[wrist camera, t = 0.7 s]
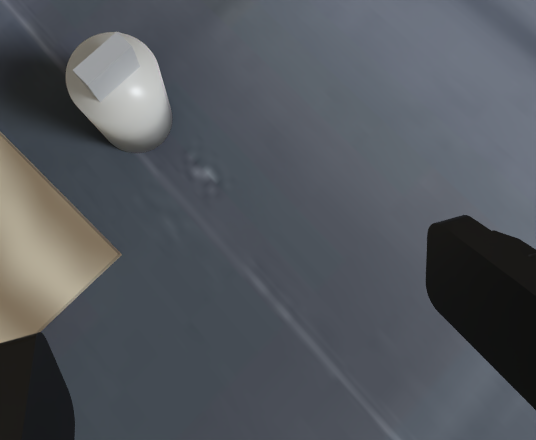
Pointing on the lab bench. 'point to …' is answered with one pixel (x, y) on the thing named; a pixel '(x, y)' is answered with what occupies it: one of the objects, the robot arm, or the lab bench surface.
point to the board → (41, 248)
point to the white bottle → (120, 91)
